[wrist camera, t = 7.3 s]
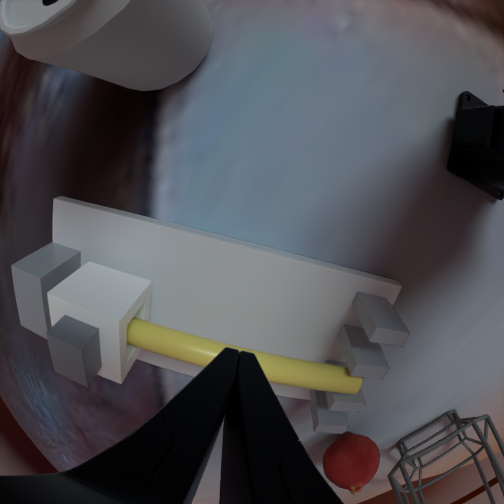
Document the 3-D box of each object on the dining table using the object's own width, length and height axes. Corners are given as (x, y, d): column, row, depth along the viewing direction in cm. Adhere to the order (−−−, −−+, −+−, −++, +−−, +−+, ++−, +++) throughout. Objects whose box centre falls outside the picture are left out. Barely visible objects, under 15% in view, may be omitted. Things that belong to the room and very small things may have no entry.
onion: (378, 433, 26) (393, 489, 18) (333, 452, 27) (340, 508, 20) (361, 411, 24) (377, 476, 17) (310, 433, 26) (315, 497, 18)
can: (155, 115, 17) (18, 90, 5) (95, 57, 15) (-29, 17, 4) (240, 36, 15) (200, -87, 3) (169, -15, 13) (91, -109, 2)
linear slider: (396, 280, 19) (432, 324, 14) (336, 395, 24) (346, 447, 18) (61, 196, 19) (8, 214, 13) (65, 322, 23) (29, 358, 17)
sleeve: (152, 280, 18) (101, 343, 12) (147, 339, 20) (109, 406, 13) (89, 261, 18) (26, 309, 12) (90, 318, 20) (42, 374, 13)
